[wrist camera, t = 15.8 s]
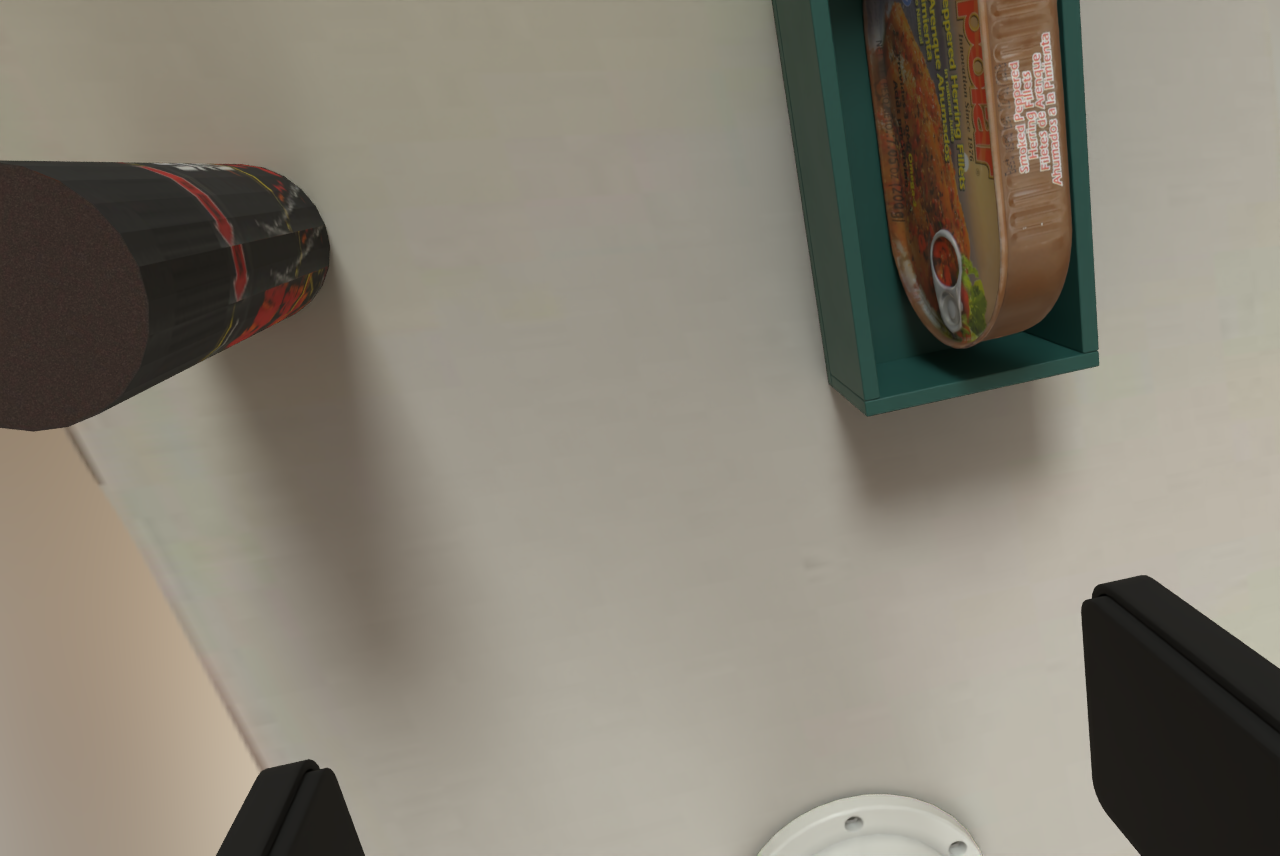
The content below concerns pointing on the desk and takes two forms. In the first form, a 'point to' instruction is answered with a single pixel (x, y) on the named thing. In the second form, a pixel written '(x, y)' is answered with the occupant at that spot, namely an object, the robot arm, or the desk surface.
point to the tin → (972, 159)
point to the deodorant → (139, 276)
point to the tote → (859, 237)
